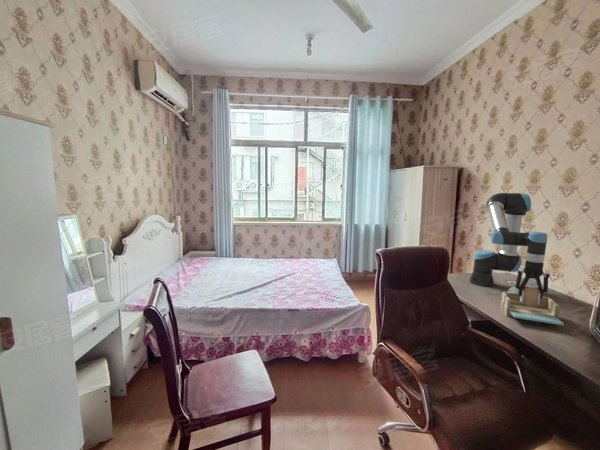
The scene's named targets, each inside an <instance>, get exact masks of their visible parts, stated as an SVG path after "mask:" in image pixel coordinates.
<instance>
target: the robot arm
mask: <svg viewBox="0 0 600 450" xmlns="http://www.w3.org/2000/svg"><path fill="white" fill-rule="evenodd" d="M485 209H486V210H485V211H486V212H487V213H489V218H490V221H491V227H492V229H493V230H492V231H491V233H490V242H491V243H492V244H494V245H495V244H496V245H501V248H500V249H499V250H498V253H496V252H495V251H494V250H487V249H485V250H483V249H482V250H477V251H476V252H475V253H474V258H473V259H474V261H473V269H472V272H471V275H470V277H469V280H468V281H469V282H470V283H471V284H473V285H475V286H480V287H481V286H482V287H494V286H495V278H494V276H493V272H494V271H498V272H499V271H501V272H508V273H516V272H517V277H516V281H515V285H514V287H516V288H517V289H519V293H518V294H519V296H520V301H521V302H522V303H523V298H524V290H523V289H524V287H525V285H527V284H528V280H530V278H534V279H536V282H537V286H538V288H539V292H538V299H537V305H539V301H540V298H541V299H542V297H544V296H543V295H544V294H545V293H548V291H549V278H550V276H551V275H550V274H549V273H548V272H544V265H545V264H544V261H545V254H546V249H547V243H548V234H547V233H546V232H542V231H530V232H528V231H525V232H521V227H522V222H523V217H524V216H526V215H527V213H529V212H530V211H531V209H532V201H531V197H530V195H529V194H528V193H522V192H498V193H495V194H493V195H491V196H490V197H489V198H488V199H487V201H486V203H485ZM518 247H526V255H525V263H524V264H525V265H524V268H523V270H520V268H521V267H522V256H520V253H519V252H518ZM523 275H525V276H524V278H523V280H522V277H523ZM542 276H543V281H541V282H542V283H541V282H540V280H541V277H542ZM521 280H522V281H521ZM541 284H542V285H543V287H542V285H541Z"/></svg>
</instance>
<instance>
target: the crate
mask: <svg viewBox="0 0 600 450" xmlns="http://www.w3.org/2000/svg"><path fill="white" fill-rule="evenodd" d="M499 307H501V309H502V311H503V313H504V315H505V316H506V317H511V318H514V316H513V315H512V314H511V313H510V311H515V312H522V313H529V314H535V315H542V316H549V317H555V318H557V319H559V318H560V310H561V306H560V305H559V304H557V303H556V302H555V301H554V300H553V299H552V298H551V297H549V296H542V299H541V298H540V301H539V305H536V306H531V305H527V304H524V303H522V302H521V301H520V296H519V294H518V293H511V292H508V291H501V296H500V306H499ZM559 320H560V319H559Z"/></svg>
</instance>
